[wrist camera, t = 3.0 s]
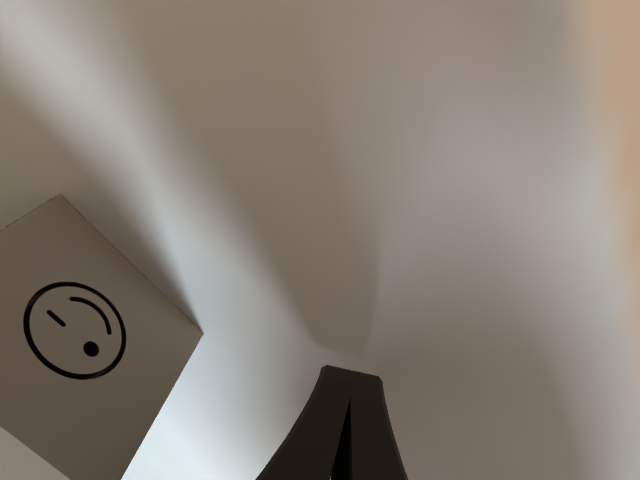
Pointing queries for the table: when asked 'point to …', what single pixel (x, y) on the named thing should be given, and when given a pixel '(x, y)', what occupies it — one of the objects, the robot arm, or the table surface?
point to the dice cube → (79, 350)
